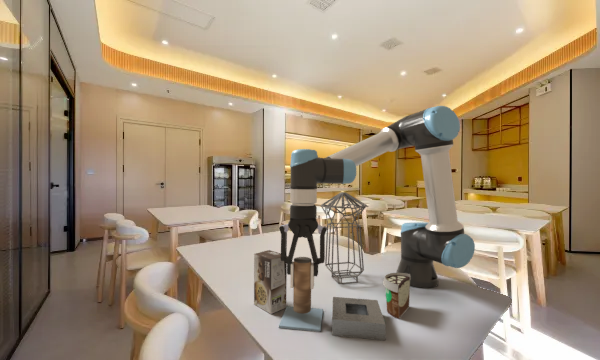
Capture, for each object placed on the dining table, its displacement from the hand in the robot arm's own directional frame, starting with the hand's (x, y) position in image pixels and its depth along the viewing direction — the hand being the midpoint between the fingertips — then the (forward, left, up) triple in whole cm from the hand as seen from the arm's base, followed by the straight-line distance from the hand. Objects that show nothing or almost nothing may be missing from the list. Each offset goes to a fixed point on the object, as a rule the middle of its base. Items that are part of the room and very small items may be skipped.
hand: (302, 286), depth 73 cm
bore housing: (-15, 0, -9) cm, 18 cm away
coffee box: (+11, -6, -9) cm, 16 cm away
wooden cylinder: (0, 0, -6) cm, 6 cm away
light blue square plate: (0, 0, -9) cm, 9 cm away
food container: (-27, -10, -9) cm, 30 cm away
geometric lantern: (-12, -33, -9) cm, 36 cm away
